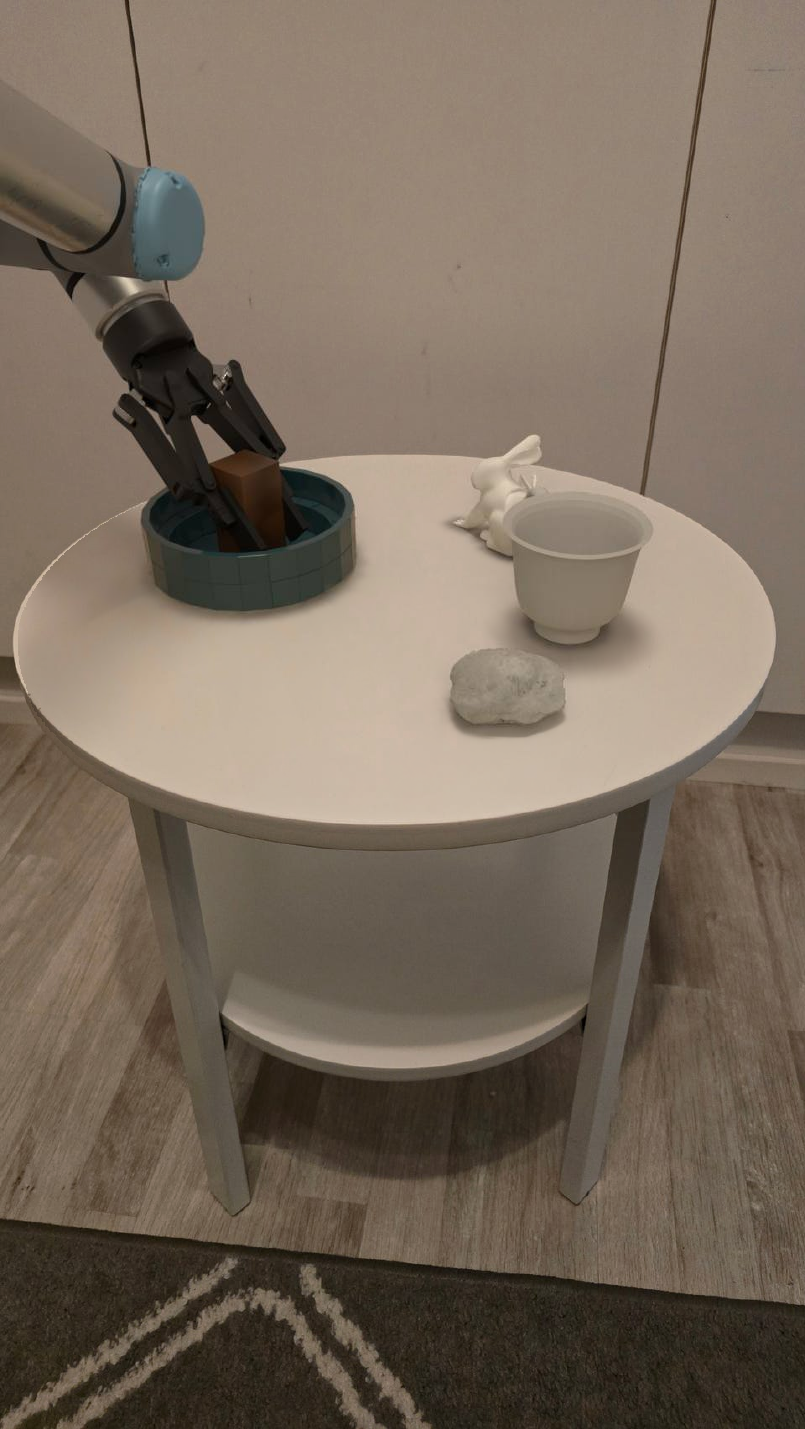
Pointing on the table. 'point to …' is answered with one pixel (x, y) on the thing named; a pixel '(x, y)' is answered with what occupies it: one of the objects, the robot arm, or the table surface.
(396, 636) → the table surface
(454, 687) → the pebble
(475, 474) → the rabbit figurine
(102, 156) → the robot arm
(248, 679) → the table surface
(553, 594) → the teacup
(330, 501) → the bowl
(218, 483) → the walnut block
